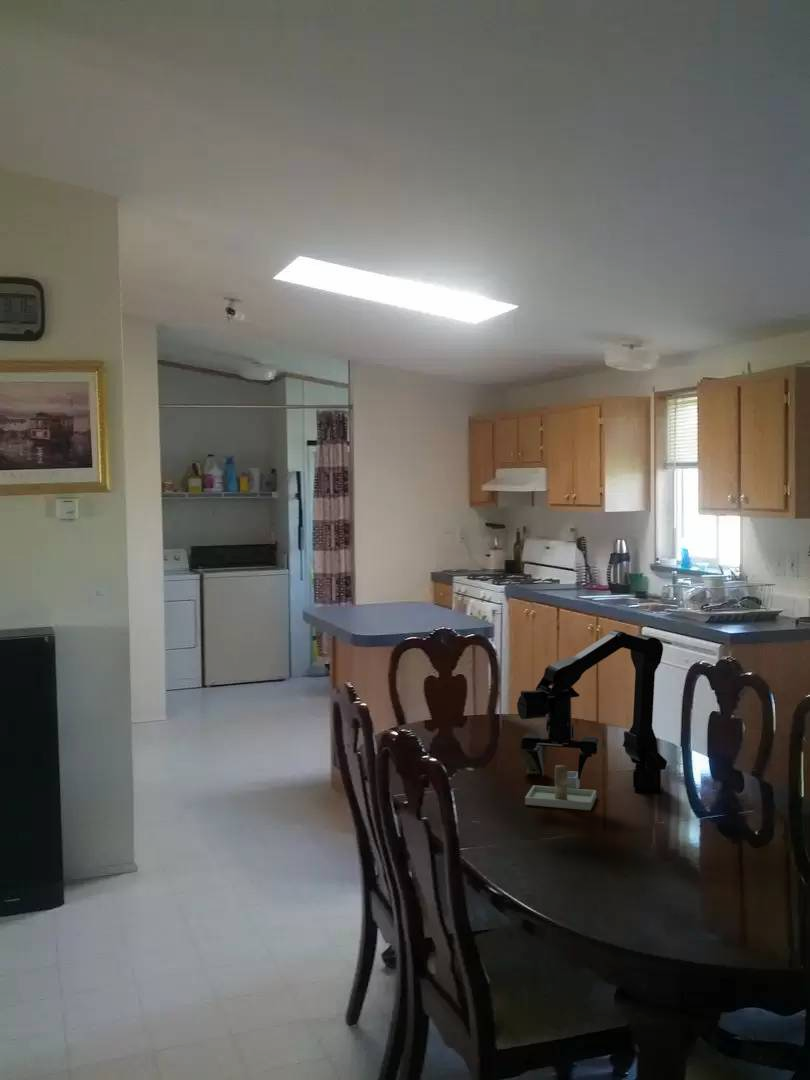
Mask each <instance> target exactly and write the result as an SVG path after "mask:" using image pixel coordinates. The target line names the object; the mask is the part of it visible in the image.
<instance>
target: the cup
mask: <svg viewBox="0 0 810 1080" xmlns="http://www.w3.org/2000/svg"><path fill="white" fill-rule="evenodd" d="M547 748H548V746H542V759H543V767H544V766H545V764H546V759H547V751H548V749H547ZM519 752H520V758H521V759H520V760H521V763H522V766H523V767H524V768H525V769H527V770H526V773H527V774H528V775H531V776H538V775H540V772H539V770H538V768H537V765H536V763H535V761H534V759H533V758H532V756H531V754H530V753H527V752H526V749H521V744H519Z"/></svg>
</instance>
